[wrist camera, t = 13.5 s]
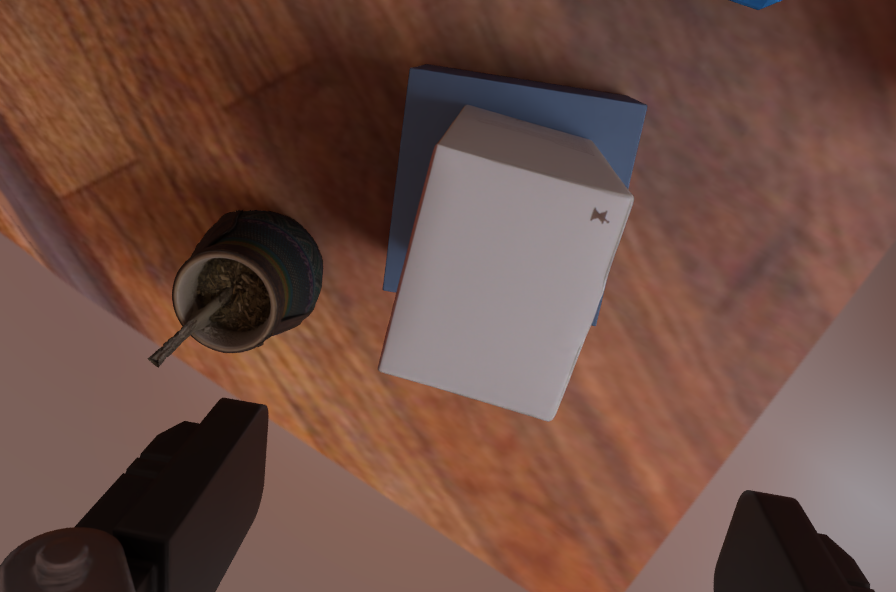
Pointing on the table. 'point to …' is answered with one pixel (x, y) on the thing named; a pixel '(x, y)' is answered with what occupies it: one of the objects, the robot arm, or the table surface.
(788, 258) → the table surface
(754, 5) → the crystal
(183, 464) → the robot arm
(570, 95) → the blue square block
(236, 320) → the mate gourd
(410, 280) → the small box
